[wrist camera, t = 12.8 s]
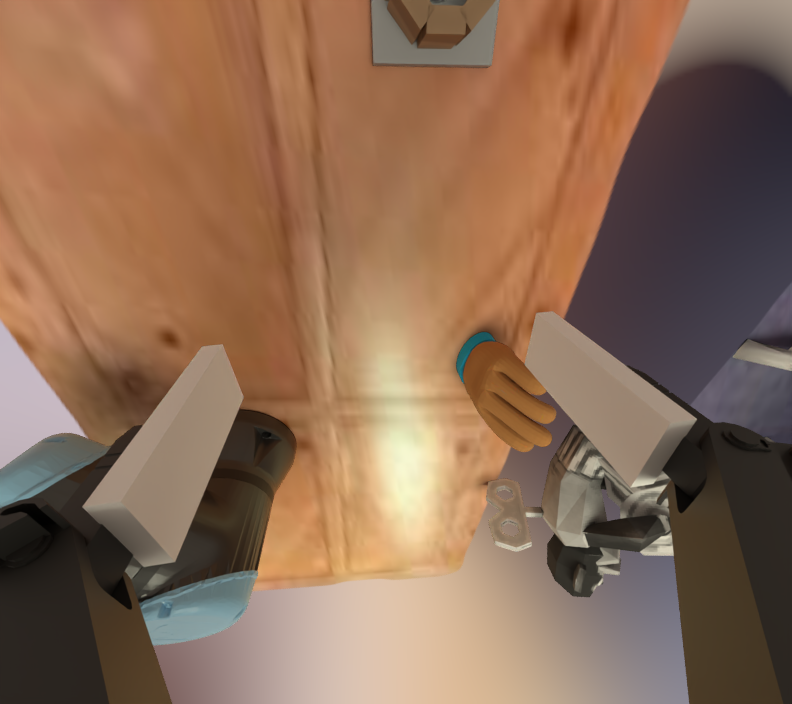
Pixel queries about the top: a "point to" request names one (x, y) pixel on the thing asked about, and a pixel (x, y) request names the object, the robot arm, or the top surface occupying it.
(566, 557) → the toy
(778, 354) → the handgun
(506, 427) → the orange glove
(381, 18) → the wall coat peg
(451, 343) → the top surface
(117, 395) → the top surface
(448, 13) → the ring
